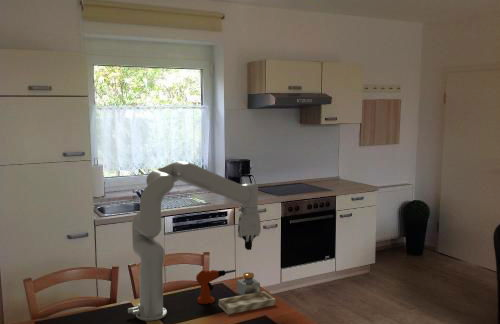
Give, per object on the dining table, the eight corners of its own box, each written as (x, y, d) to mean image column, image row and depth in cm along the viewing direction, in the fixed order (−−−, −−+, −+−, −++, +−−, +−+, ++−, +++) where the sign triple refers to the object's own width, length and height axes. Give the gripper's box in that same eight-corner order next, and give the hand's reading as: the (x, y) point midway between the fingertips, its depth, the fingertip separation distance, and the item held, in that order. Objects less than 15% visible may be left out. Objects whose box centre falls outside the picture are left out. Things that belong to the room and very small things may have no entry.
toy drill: (239, 297, 207) (236, 266, 205) (198, 306, 202) (194, 274, 200) (237, 293, 211) (233, 262, 209) (197, 302, 207) (193, 270, 205)
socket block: (244, 298, 210) (244, 285, 209) (237, 292, 217) (237, 280, 216) (259, 295, 213) (260, 283, 213) (251, 289, 220) (252, 277, 220)
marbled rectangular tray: (227, 314, 192) (228, 308, 192) (218, 305, 201) (218, 299, 201) (275, 304, 203) (275, 298, 202) (264, 296, 212) (264, 291, 211)
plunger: (245, 295, 212) (246, 276, 211) (241, 292, 216) (241, 273, 215) (255, 294, 214) (255, 275, 213) (250, 290, 218) (250, 271, 217)
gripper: (238, 212, 204) (237, 253, 206) (267, 210, 211) (266, 249, 213) (231, 209, 211) (230, 248, 213) (259, 207, 218) (258, 245, 219)
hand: (248, 249), depth 213 cm, fingers closed
